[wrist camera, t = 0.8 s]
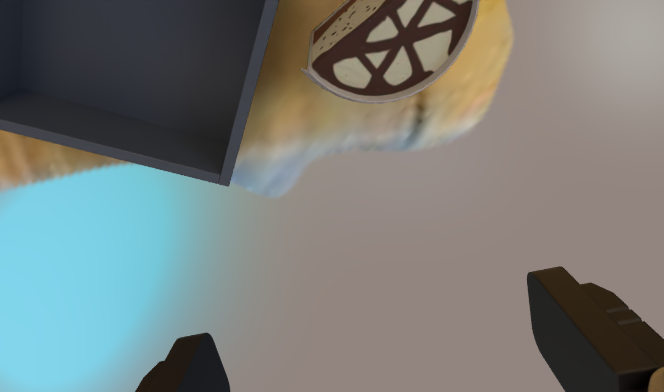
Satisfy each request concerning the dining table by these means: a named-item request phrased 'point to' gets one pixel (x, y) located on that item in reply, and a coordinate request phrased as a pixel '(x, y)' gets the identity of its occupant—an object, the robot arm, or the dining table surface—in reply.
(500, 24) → the dining table surface
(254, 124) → the dining table surface
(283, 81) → the dining table surface
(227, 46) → the tub
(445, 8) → the food container
